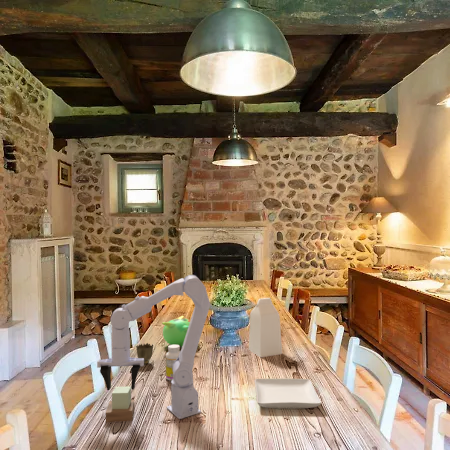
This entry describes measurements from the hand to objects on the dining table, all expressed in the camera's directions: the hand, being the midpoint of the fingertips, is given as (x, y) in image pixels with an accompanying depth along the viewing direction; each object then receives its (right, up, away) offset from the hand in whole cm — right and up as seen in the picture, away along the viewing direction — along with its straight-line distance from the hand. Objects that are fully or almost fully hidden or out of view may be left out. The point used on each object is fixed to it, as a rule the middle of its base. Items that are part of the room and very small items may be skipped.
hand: (121, 388), depth 123 cm
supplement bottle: (+13, -9, +31) cm, 34 cm away
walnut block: (0, -9, 0) cm, 9 cm away
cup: (-2, -9, +48) cm, 49 cm away
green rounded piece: (+10, -10, +73) cm, 75 cm away
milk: (+53, -9, +63) cm, 82 cm away
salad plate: (+55, -9, +12) cm, 57 cm away
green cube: (0, -5, 0) cm, 5 cm away
